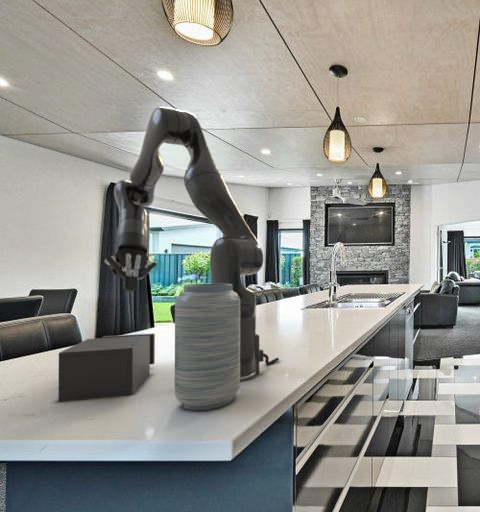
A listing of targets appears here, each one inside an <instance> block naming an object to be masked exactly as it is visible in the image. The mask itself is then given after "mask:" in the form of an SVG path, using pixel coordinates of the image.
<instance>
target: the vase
mask: <svg viewBox="0 0 480 512" xmlns="http://www.w3.org/2000/svg"><path fill="white" fill-rule="evenodd" d="M240 387H241V380H240V298H239V296H238V294H237V293H236V292H234V291H233V285H232V284H229V283H211V282H209V283H190V284H184V285H183V291H182V292H181V293H180V294H179V295H177V297H176V299H175V302H174V396H175V398H176V399H177V401H178V402H179V403H181V405H182V406H183V408H184V409H187V410H190V411H207V410H214V409H217V408H221V407H224V406H227V405H228V404H229V403H231V402H232V400H233V398H234V397H235V395H237V393H238V392H239V390H240Z"/></svg>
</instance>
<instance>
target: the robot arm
mask: <svg viewBox="0 0 480 512" xmlns="http://www.w3.org/2000/svg"><path fill="white" fill-rule="evenodd" d="M147 123H148V124H147V127H146V129H145V134H144V137H143V141H142V146H141V150H140V154H139V156H138V159H137V160H136V162H135V164H134V166H133V168H132V170H131V171H130V174H129V180H128V179H120V180H119V181H118V182H116V184H114V187H113V188H114V189H113V194H114V199H115V202H116V205H117V207H118V212H119V217H118V218H119V219H118V227H117V231H116V232H117V233H116V247H115V252H114V253H113V255H107V256H106V257H105V258H104V259H105V260H104V261H103V263H104V265H106V267H107V268H108V269H109V270H110V272H112V273H113V275H114V276H115V277H116V278H121V279H123V284H122V285H123V287H122V288H123V290H124V291H125V293H133V292H134V291H135V290H136V289H137V287H138V280H139V281H141V280H143V279H144V278H145V277H147V275H148V274H150V273H151V272H152V271H153V270H154V269H155V268H156V266H157V265H158V264H157V262H156V261H151V260H150V257H149V256H148V238H149V237H148V235H149V233H148V212H147V210H146V209H145V208H146V207H149V206H151V205H152V204H153V202H154V199H155V189H156V185H157V183H158V182H159V181H160V178H161V177H162V175H163V173H164V171H165V170H164V169H165V163H164V160H163V157H162V154H161V153H160V147H161V146H162V145H163V144H169V145H175V146H180V147H181V146H182V147H184V148H185V149H186V150H187V152H188V155H189V157H190V159H189V162H188V165H187V167H186V169H185V171H184V172H185V173H184V177H183V183H184V188H185V190H186V192H187V194H188V196H189V198H190V200H191V203H192V204H193V206H194V207H195V208H196V210H198V212H200V213H201V214H202V215H203V216H204V217H205V218H206V219H207V220H208V221H209V222H210V223H211V224H213V225H214V226H215V227H216V228H217V229H218V230H219V231H220V232H221V234H222V235H223V236H222V237H219V238H217V239H216V240H215V241H214V242H213V244H212V246H211V250H210V254H209V267H210V270H209V271H210V283H229V284H232V285H233V291H234V292H236V293H237V294H238V296H239V298H240V381H245V380H248V379H251V378H253V377H255V376H257V375H260V363H261V362H264V363H265V364H266V365H268V366H269V365H272V364H275V363H276V362H278V361H279V360H280V358H279V357H275V358H274V359H272V360H270V359H269V358H270V357H269V355H268V354H266V353H265V352H264V350H263V349H260V335H259V334H258V333H257V316H256V315H257V304H256V303H257V294H256V292H255V291H254V290H251V289H249V288H247V287H246V286H244V284H243V282H242V276H252V275H255V274H257V273H258V272H260V270H261V269H262V267H263V264H264V252H263V249H262V247H261V245H260V243H259V241H258V240H257V238H256V235H254V233H253V232H252V230H251V229H250V227H249V225H248V224H247V222H246V221H245V219H244V217H243V216H242V214H241V212H240V210H239V208H238V206H237V203H236V202H235V200H234V198H233V197H232V195H231V193H230V190H229V188H228V185H227V184H226V182H225V180H224V177H223V176H222V174H221V171H220V170H219V168H218V167H217V165H216V163H215V160H214V157H213V155H212V153H211V151H210V149H209V146H208V143H207V141H206V137H205V135H204V131H203V129H202V127H201V126H202V125H201V124H200V121H199V119H198V118H197V117H196V116H195V114H193V113H192V112H190V111H187V110H182V109H177V108H172V107H166V106H158V107H156V108H155V109H154V110H153V112H152V113H151V115H150V118H149V121H148V122H147ZM145 264H146V265H145ZM144 265H145V268H144V269H143V270H142V271H141V272H139V271H140V269H141V268H142V267H144ZM264 358H265V361H264ZM269 360H270V361H269Z"/></svg>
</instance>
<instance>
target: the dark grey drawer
mask: <svg viewBox="0 0 480 512" xmlns="http://www.w3.org/2000/svg"><path fill="white" fill-rule="evenodd" d="M149 335H150V365H154V364H155V362H156V358H155V355H156V354H155V353H156V351H155V350H156V337H155V336H156V334H155V333H137V334H121V335H120V334H119V335H118V334H117V335H103V336H102V337H101V338H114V337H131V336H149Z"/></svg>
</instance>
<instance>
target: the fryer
mask: <svg viewBox="0 0 480 512" xmlns="http://www.w3.org/2000/svg"><path fill="white" fill-rule="evenodd" d="M150 368H151V364H150V335H149V336H131V337H114V338H102V337H100V338H97V337H96V338H87V339H85V340H83V341H81V342H79V343H77V344H74V345H72V346H70V347H68V348H66V349H64V350H62V351H60V352H58V387H57V388H58V391H57V394H58V398H57V402H58V403H60V402H71V401H80V400H90V399H99V398H100V399H101V398H110V397H119V396H129V395H134V393H135V392H136V391H137V390H138V388H139V387H141V386H142V384H143V383H144V382H145V381H146V380H147V378H149V376H150V374H151V373H150V370H151V369H150Z"/></svg>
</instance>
